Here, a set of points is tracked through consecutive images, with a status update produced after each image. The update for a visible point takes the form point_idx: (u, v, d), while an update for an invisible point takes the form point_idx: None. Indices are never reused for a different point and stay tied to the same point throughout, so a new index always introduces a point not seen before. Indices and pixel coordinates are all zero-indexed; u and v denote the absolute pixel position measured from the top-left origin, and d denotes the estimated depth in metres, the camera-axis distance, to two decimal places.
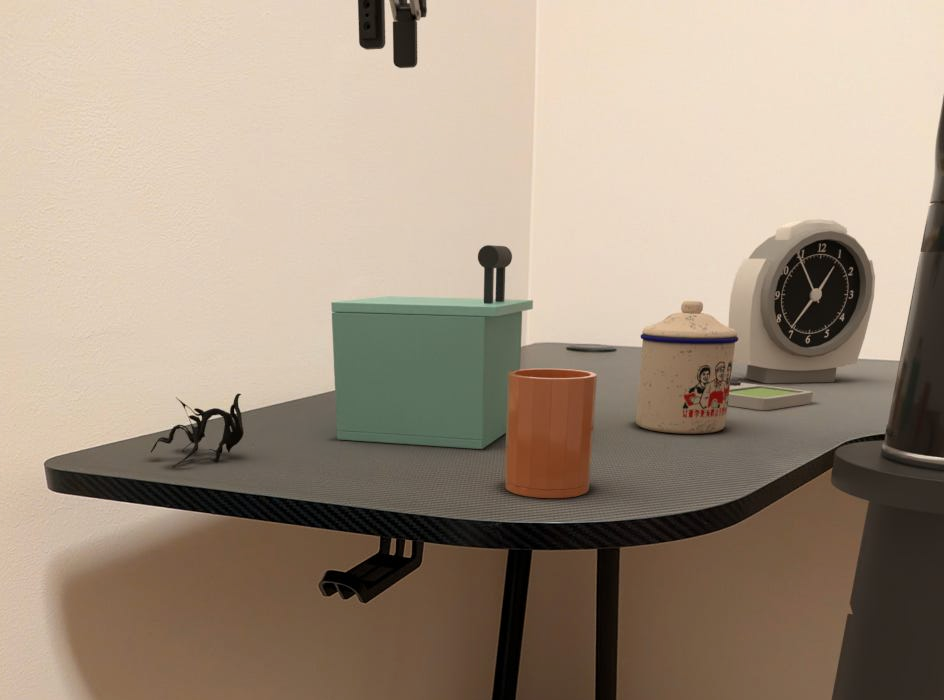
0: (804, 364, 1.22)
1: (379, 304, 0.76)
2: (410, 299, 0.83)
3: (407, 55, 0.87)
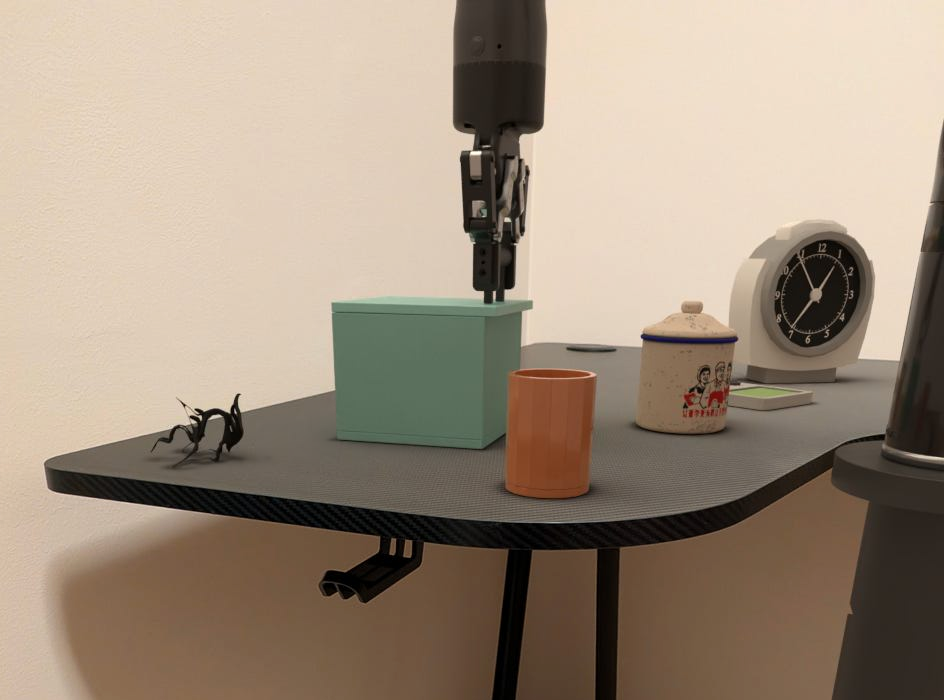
0: (804, 364, 1.22)
1: (379, 304, 0.76)
2: (410, 299, 0.83)
3: (505, 279, 0.81)
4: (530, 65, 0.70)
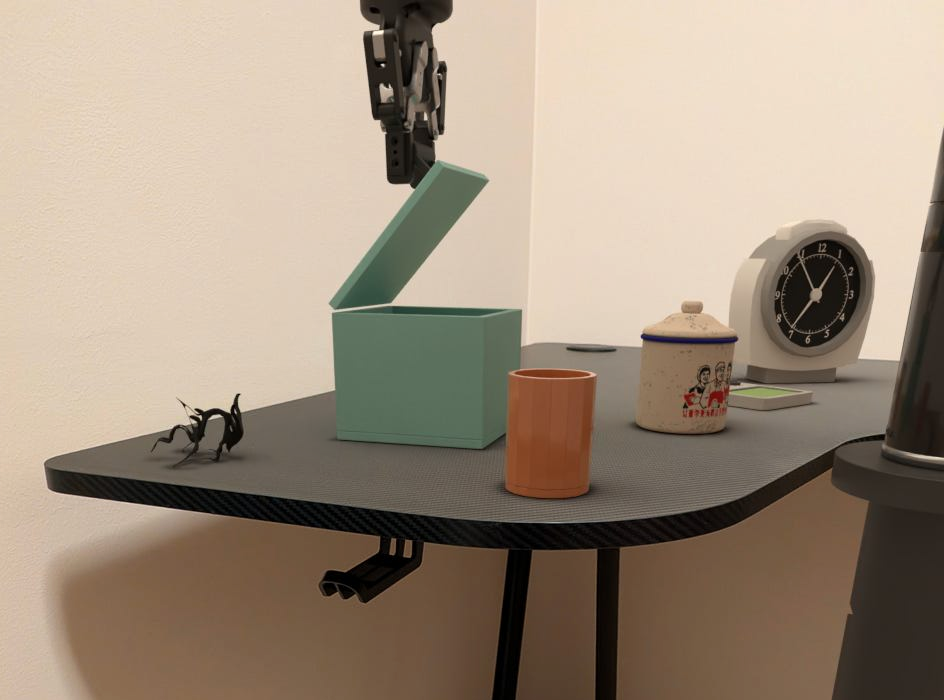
0: (804, 364, 1.22)
1: (359, 263, 0.75)
2: None
3: None
4: None
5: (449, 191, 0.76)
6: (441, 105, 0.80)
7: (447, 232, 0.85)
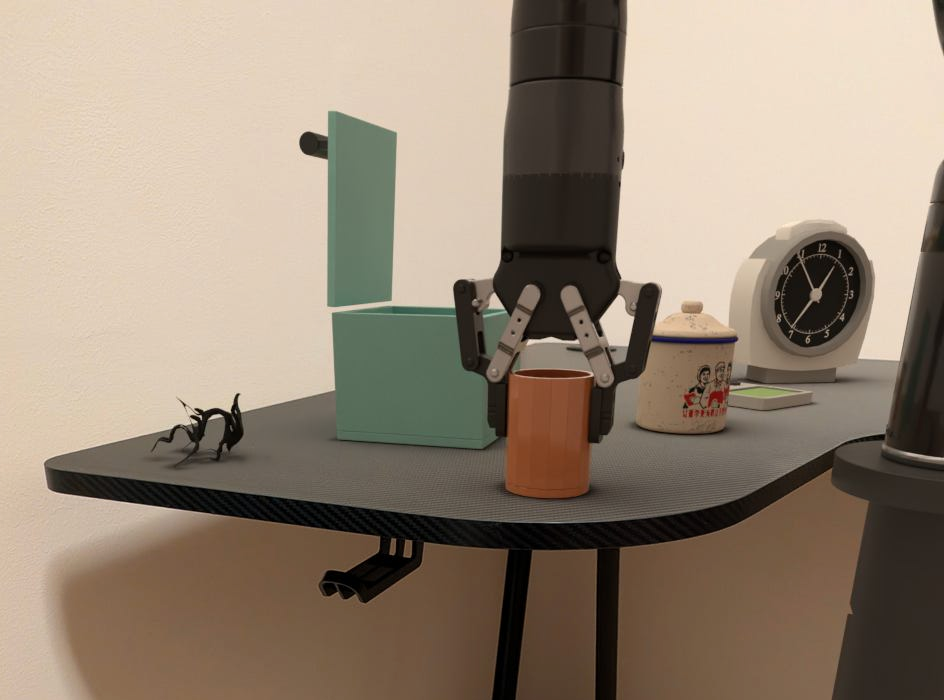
0: (804, 364, 1.22)
1: (328, 250, 0.76)
2: None
3: None
4: (517, 177, 0.55)
5: (362, 145, 0.77)
6: (632, 342, 0.59)
7: (394, 203, 0.86)
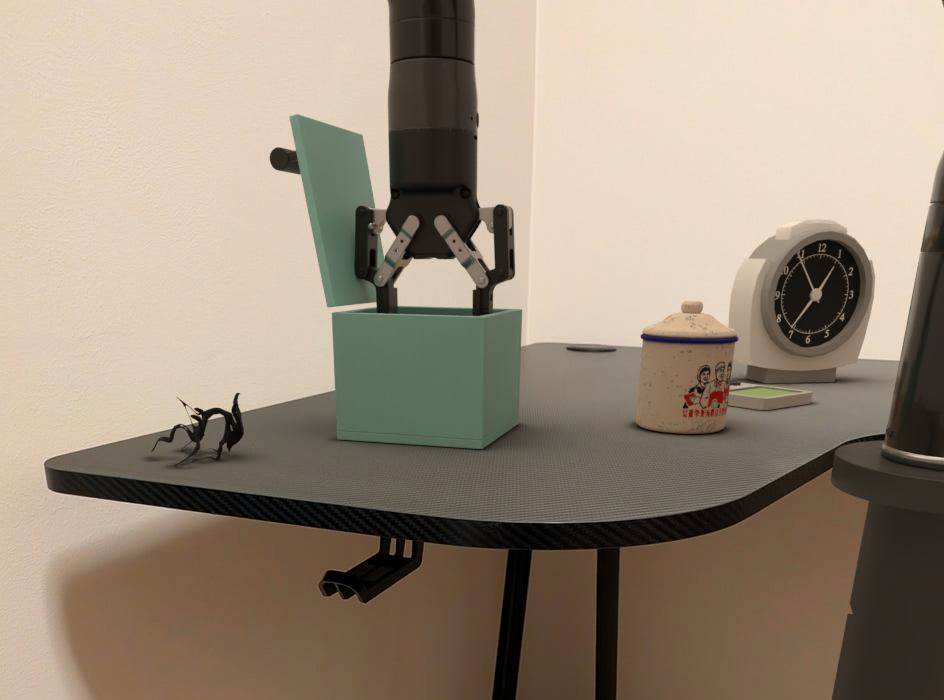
0: (804, 364, 1.22)
1: (316, 252, 0.76)
2: None
3: None
4: (396, 132, 0.74)
5: (330, 147, 0.78)
6: (496, 252, 0.77)
7: (374, 203, 0.86)
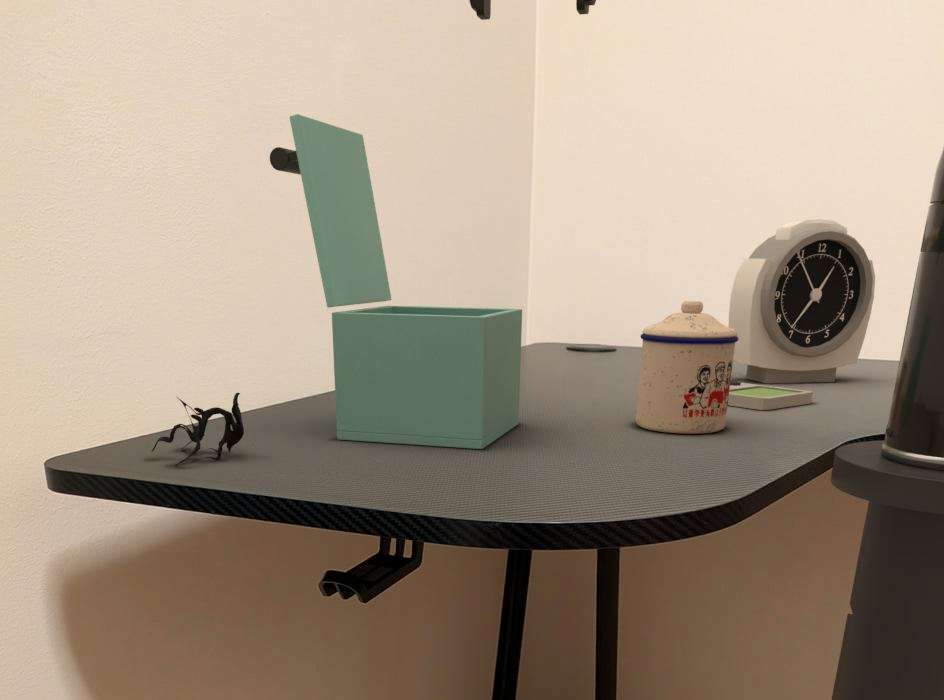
0: (804, 364, 1.22)
1: (316, 252, 0.76)
2: None
3: None
4: None
5: (330, 147, 0.78)
6: None
7: (374, 203, 0.86)
